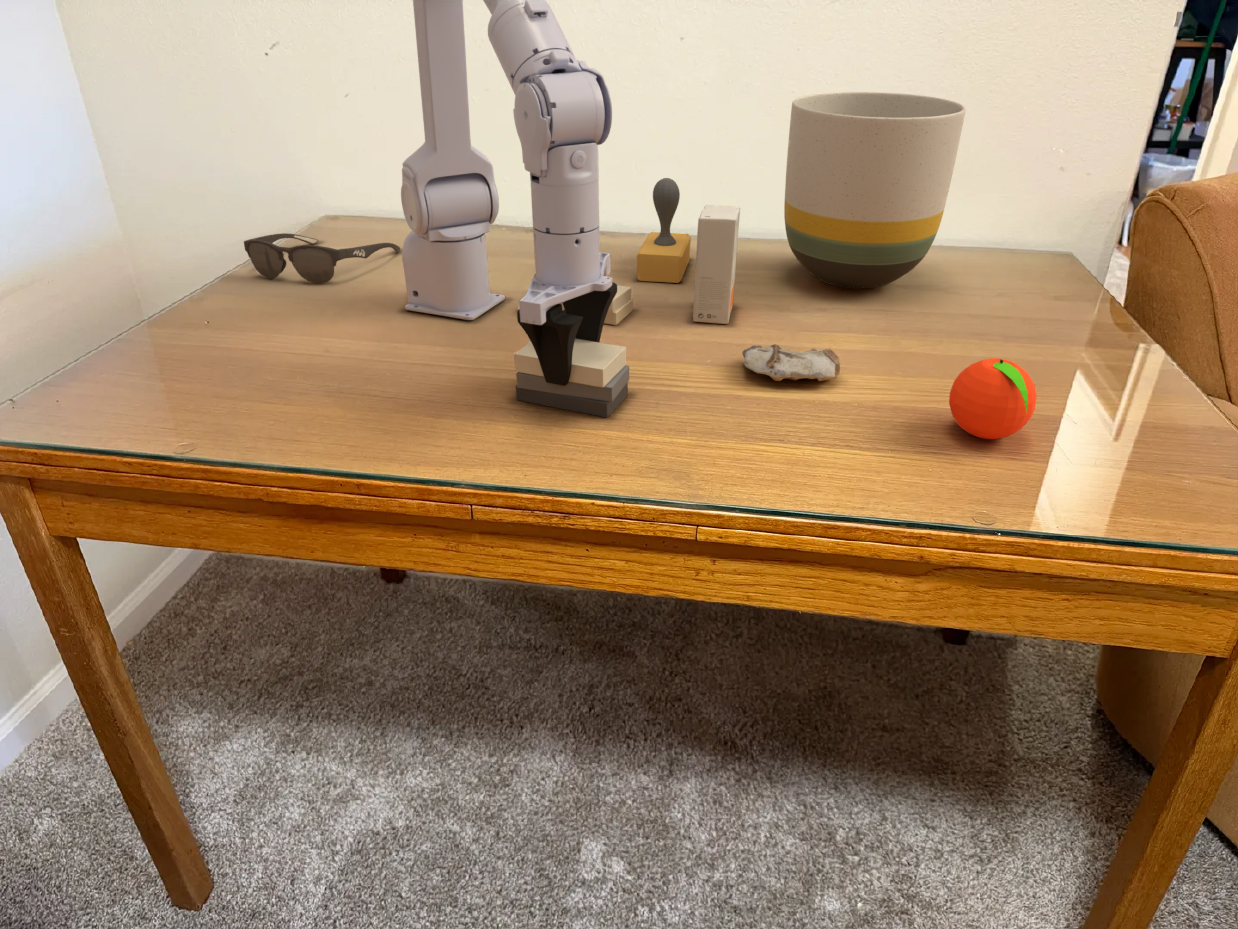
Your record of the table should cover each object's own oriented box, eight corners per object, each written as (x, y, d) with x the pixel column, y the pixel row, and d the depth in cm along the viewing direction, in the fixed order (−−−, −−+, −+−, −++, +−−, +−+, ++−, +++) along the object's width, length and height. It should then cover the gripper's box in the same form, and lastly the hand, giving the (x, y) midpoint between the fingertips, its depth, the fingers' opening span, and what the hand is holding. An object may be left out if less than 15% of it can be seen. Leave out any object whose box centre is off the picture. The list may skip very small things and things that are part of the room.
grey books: (514, 401, 81) (512, 372, 79) (541, 377, 85) (540, 350, 83) (609, 420, 77) (609, 390, 76) (632, 394, 82) (632, 366, 80)
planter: (866, 320, 98) (897, 124, 87) (744, 277, 111) (757, 102, 100) (961, 284, 108) (1000, 105, 97) (839, 249, 121) (861, 87, 110)
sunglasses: (233, 276, 111) (227, 238, 109) (311, 253, 126) (306, 219, 124) (343, 288, 107) (339, 248, 105) (410, 263, 122) (407, 228, 120)
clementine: (1050, 455, 72) (1073, 379, 68) (976, 464, 70) (996, 387, 67) (995, 412, 78) (1014, 340, 75) (927, 419, 77) (942, 347, 73)
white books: (539, 314, 100) (537, 289, 98) (559, 299, 104) (558, 275, 103) (615, 326, 97) (615, 301, 95) (633, 310, 101) (633, 285, 99)
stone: (742, 388, 83) (744, 363, 81) (740, 357, 89) (742, 333, 88) (841, 392, 82) (845, 367, 81) (833, 360, 88) (836, 337, 87)
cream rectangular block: (515, 371, 79) (513, 353, 78) (542, 349, 83) (541, 332, 82) (603, 387, 76) (603, 369, 75) (626, 364, 80) (626, 346, 79)
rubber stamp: (680, 283, 109) (683, 188, 103) (636, 280, 110) (637, 186, 104) (690, 260, 117) (693, 170, 111) (648, 257, 118) (650, 168, 112)
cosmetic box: (729, 325, 97) (736, 220, 90) (692, 322, 97) (696, 218, 91) (733, 306, 102) (741, 205, 96) (698, 304, 103) (703, 203, 96)
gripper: (571, 254, 66) (576, 410, 73) (640, 209, 77) (639, 347, 84) (492, 244, 68) (504, 396, 75) (570, 202, 79) (574, 337, 86)
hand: (571, 369), depth 80 cm, fingers closed on cream rectangular block, 5 cm apart
